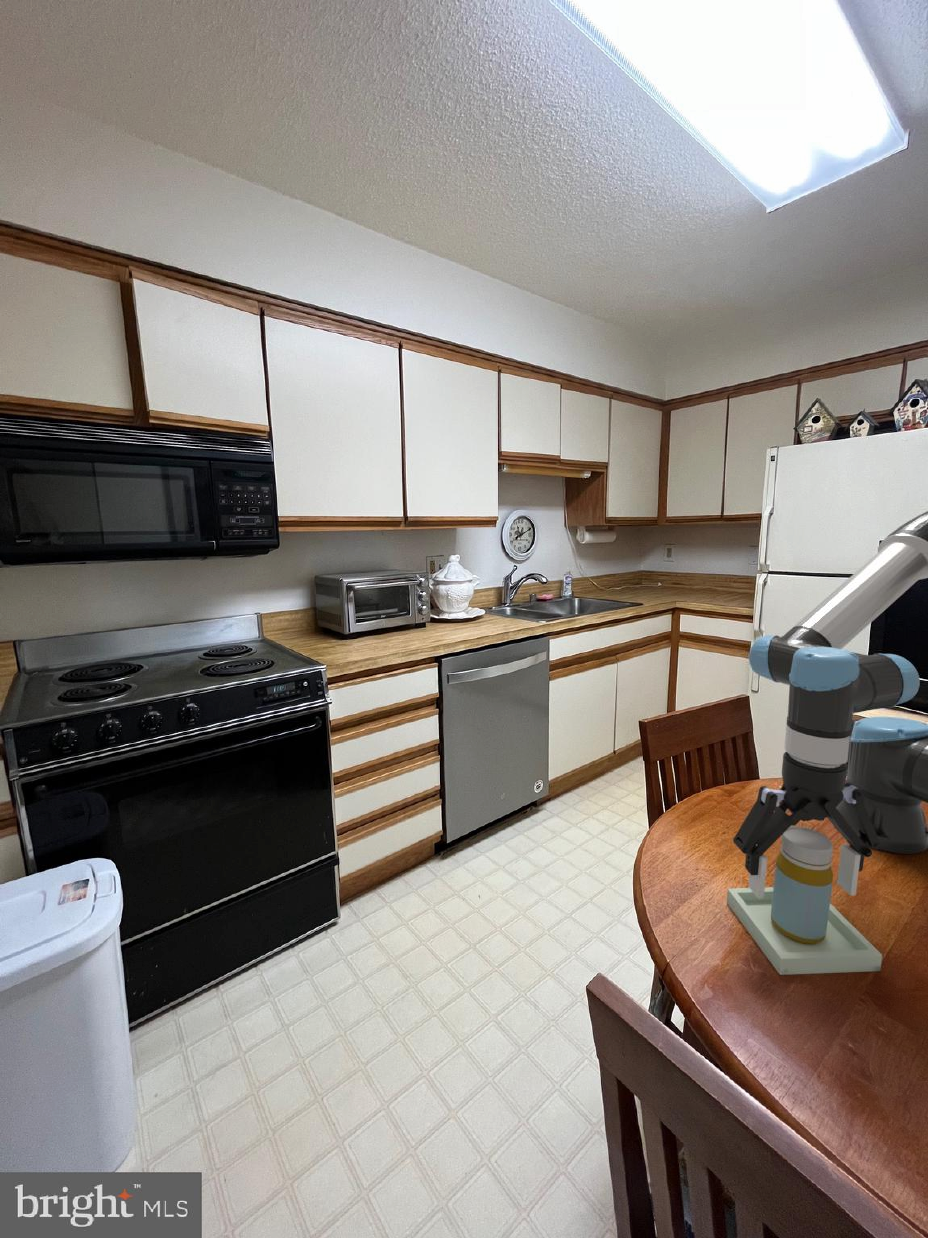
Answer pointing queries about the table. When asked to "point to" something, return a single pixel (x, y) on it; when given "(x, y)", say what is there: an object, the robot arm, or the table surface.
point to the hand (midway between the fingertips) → (801, 891)
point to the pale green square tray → (790, 957)
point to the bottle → (803, 885)
